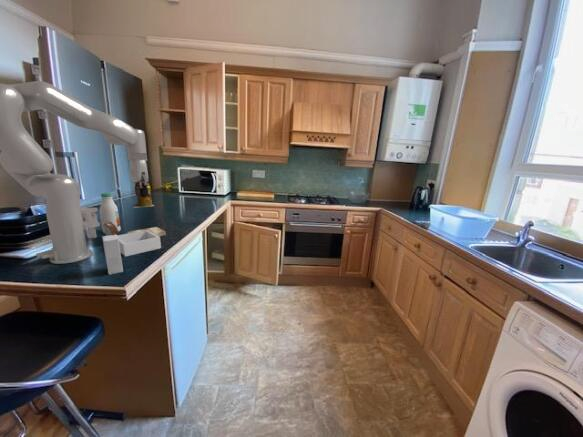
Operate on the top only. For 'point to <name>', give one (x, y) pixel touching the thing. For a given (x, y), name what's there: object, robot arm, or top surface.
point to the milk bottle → (109, 211)
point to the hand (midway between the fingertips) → (142, 195)
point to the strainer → (90, 220)
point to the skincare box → (112, 254)
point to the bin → (138, 242)
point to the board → (152, 231)
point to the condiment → (143, 200)
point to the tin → (110, 229)
